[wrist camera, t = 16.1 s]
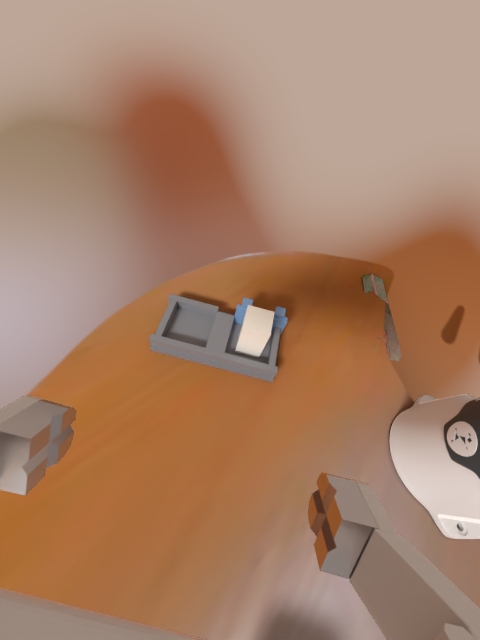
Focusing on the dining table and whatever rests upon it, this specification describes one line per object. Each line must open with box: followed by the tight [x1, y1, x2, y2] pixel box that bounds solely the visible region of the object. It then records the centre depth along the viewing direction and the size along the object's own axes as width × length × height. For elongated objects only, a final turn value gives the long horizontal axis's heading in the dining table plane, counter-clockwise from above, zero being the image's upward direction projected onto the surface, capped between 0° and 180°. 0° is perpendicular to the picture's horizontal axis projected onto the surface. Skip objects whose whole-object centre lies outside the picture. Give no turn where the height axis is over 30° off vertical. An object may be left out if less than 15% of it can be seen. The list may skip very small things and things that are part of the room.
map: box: [363, 273, 401, 361], centre depth 52 cm, size 5×20×1 cm, turn 176°
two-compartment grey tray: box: [149, 294, 288, 382], centre depth 41 cm, size 20×11×6 cm, turn 78°
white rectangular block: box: [235, 305, 275, 358], centre depth 39 cm, size 4×4×8 cm
